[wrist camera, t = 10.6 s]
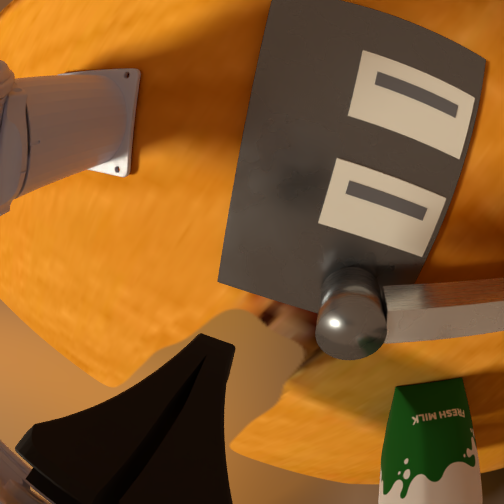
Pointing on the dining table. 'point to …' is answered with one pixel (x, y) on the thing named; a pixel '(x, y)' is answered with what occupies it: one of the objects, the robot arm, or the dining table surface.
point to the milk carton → (430, 447)
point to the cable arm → (402, 312)
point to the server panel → (328, 148)
